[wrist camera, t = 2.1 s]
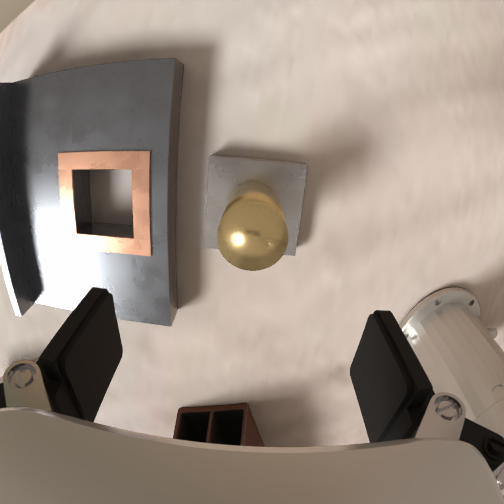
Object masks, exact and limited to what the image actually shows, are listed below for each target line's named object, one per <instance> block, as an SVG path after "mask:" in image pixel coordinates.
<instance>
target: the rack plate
mask: <svg viewBox="0 0 504 504" xmlns="http://www.w3.org/2000/svg"><path fill="white" fill-rule="evenodd" d="M183 69H184V64H183V63H181V62H180V61H178V60H177V59H176V58H169V59H150V60H136V61H125V62H116V63H108V64H100V65H93V66H86V67H80V68H75V69H69V70H64V71H59V72H54V73H49V74H45V75H41V76H36V77H32V78H28V79H25V80H21V81H17V82H14V83H0V262H1V266H2V270H3V274H4V278H5V282H6V285H7V289H8V293H9V296H10V299H11V302H12V306H13V309H14V312H15V315H17V316H21V317H22V316H23V315H24V314H25V312H26V311H27V310H28V309H29V308H30V307H31V306H32V305H33V304H34V303H40V304H44V305H49V306H53V307H58V308H63V309H68V310H74V309H75V308H76V307H77V305H78V304H79V303H80V301H81V300H82V299H83V298H84V296H85V295H86V294H87V293H88V291H89V290H90V289H91V288H92V287H98V288H105V289H108V291H109V293H111V294H112V295H113V300H114V306H115V312H116V318H117V319H123V320H130V321H136V322H143V323H150V324H157V325H164V326H172V323H173V320H174V318H175V315H176V313H177V310H178V305H177V275H176V186H177V157H178V136H179V119H180V105H181V92H182V80H183ZM89 169H132V203H133V225H119V224H105V223H92V219H91V205H90V188H89Z"/></svg>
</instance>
